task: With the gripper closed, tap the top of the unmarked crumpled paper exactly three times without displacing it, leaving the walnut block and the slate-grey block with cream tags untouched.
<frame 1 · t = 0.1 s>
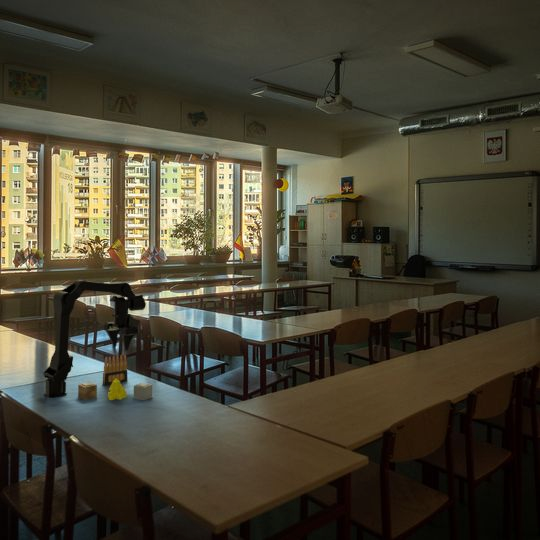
hand: (120, 348, 224), 15 cm above the table, fingers open, 9 cm apart
walnut tagged block: (87, 397, 202), on the table
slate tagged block: (142, 397, 204), on the table
crumpled paper: (117, 397, 203), on the table
ammunition clip: (115, 383, 223), on the table
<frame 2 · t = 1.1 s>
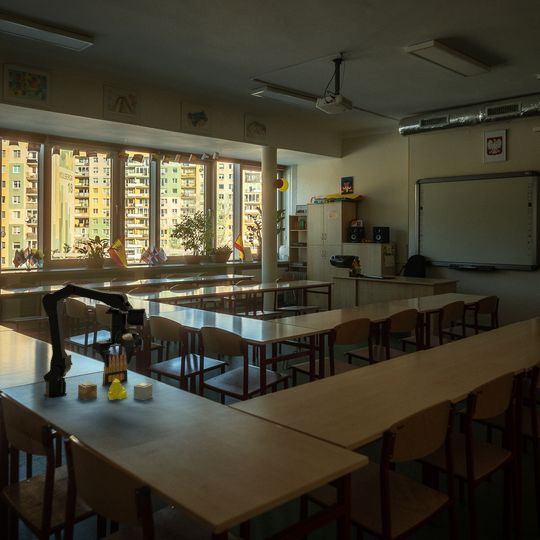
hand: (117, 365, 203), 12 cm above the table, fingers open, 9 cm apart
nothing on the table moved.
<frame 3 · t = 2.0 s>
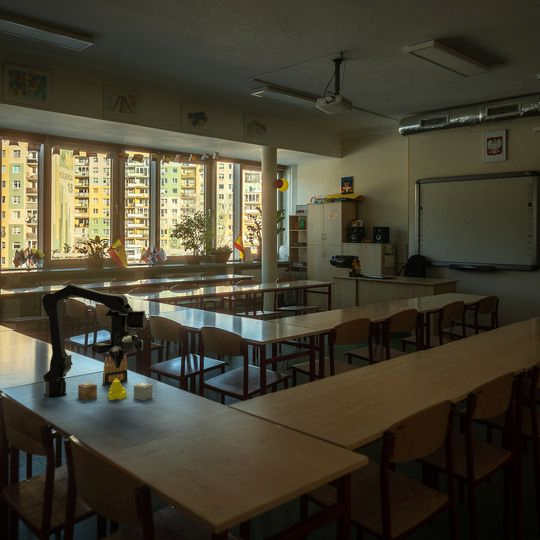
hand: (117, 367, 203), 11 cm above the table, fingers closed
nothing on the table moved.
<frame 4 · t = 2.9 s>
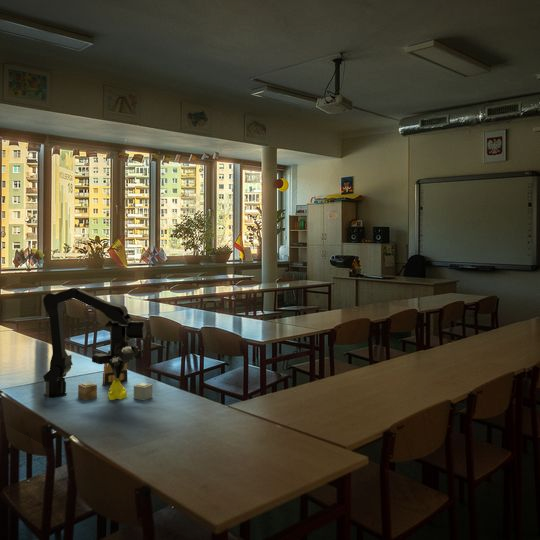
hand: (117, 378, 203), 7 cm above the table, fingers closed
nothing on the table moved.
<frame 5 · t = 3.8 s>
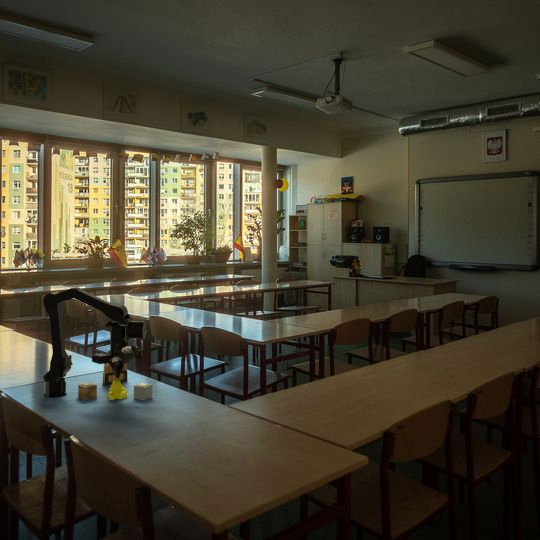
hand: (117, 378, 203), 7 cm above the table, fingers closed
nothing on the table moved.
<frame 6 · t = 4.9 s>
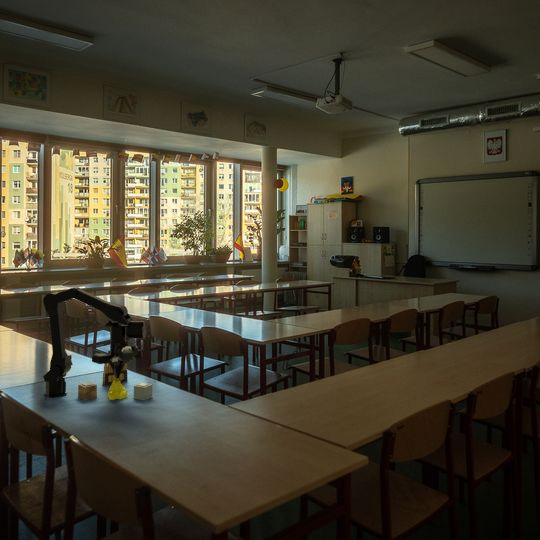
hand: (117, 378, 203), 7 cm above the table, fingers closed
nothing on the table moved.
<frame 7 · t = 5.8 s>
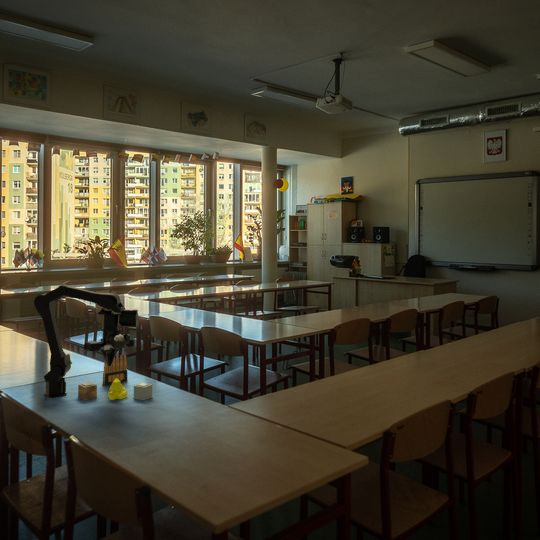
hand: (109, 366, 204), 12 cm above the table, fingers closed
nothing on the table moved.
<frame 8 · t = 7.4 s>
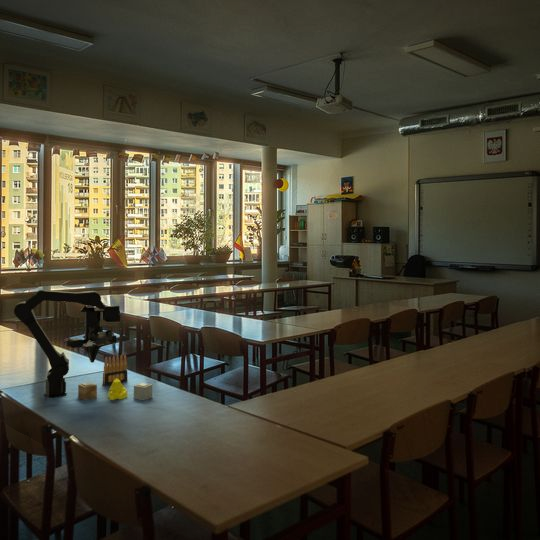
hand: (92, 362, 208), 12 cm above the table, fingers closed
nothing on the table moved.
at the end: crumpled paper moved 0.5 cm from its start; walnut tagged block moved 0.1 cm from its start; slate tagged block moved 0.1 cm from its start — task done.
